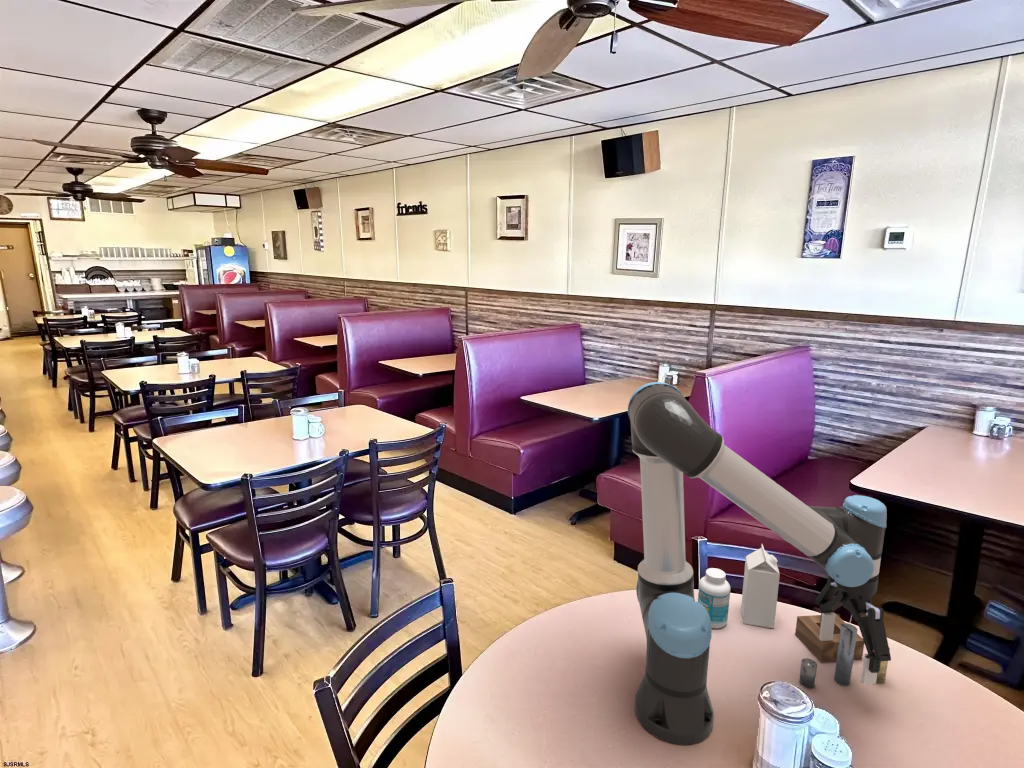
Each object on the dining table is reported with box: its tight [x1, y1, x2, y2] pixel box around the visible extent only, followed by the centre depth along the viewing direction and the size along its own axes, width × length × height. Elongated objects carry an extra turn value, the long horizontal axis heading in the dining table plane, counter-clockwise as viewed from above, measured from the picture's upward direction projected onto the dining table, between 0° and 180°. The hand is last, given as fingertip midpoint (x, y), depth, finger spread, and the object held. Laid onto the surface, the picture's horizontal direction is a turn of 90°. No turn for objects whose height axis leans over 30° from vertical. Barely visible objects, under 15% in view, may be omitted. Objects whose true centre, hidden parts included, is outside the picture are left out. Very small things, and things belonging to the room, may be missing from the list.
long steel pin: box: [833, 622, 858, 687], centre depth 121 cm, size 3×3×13 cm
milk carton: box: [740, 543, 781, 629], centre depth 143 cm, size 7×7×19 cm
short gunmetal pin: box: [798, 657, 818, 689], centre depth 121 cm, size 3×3×5 cm
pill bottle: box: [697, 567, 731, 630], centre depth 142 cm, size 8×7×14 cm
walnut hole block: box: [794, 613, 865, 663], centre depth 133 cm, size 10×10×5 cm
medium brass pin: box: [873, 647, 891, 685], centre depth 123 cm, size 3×3×8 cm
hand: (845, 660), depth 122 cm, fingers open, 13 cm apart
